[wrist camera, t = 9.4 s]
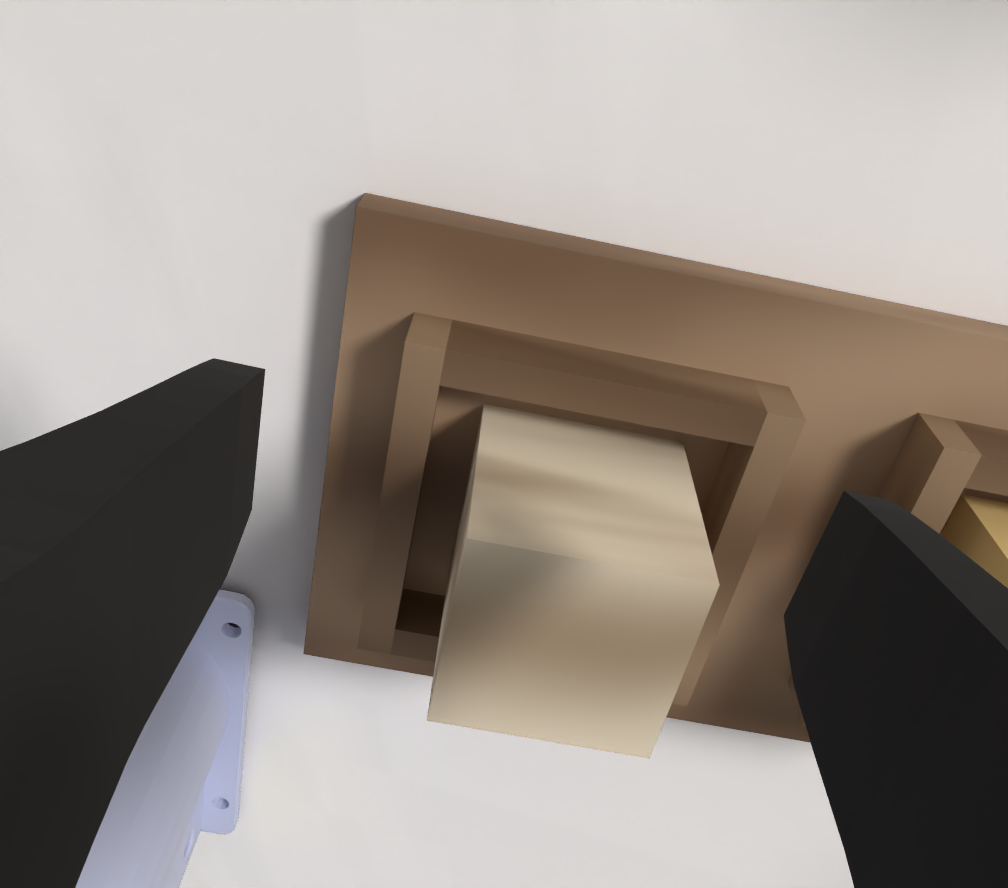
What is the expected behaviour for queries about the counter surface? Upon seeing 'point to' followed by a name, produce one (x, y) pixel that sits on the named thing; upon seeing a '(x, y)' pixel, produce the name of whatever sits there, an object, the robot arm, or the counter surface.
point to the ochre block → (981, 533)
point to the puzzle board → (658, 319)
